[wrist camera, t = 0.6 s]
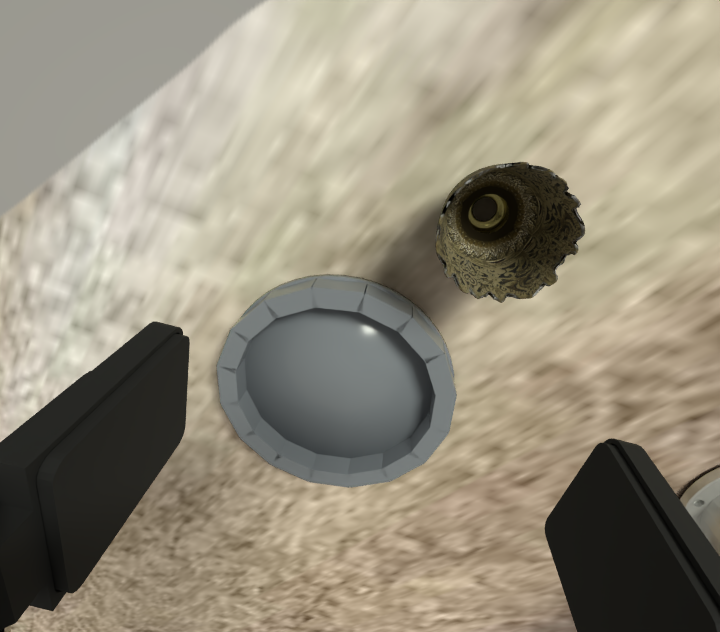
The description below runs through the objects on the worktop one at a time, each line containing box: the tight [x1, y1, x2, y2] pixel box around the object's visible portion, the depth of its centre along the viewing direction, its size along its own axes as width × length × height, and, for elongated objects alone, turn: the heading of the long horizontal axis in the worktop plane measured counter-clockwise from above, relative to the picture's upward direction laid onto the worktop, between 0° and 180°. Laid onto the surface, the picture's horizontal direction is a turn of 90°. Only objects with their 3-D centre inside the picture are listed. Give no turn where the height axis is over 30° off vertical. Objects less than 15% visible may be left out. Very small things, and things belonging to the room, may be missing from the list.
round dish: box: [217, 274, 457, 488], centre depth 35 cm, size 20×20×3 cm
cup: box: [436, 162, 585, 303], centre depth 25 cm, size 8×7×8 cm
